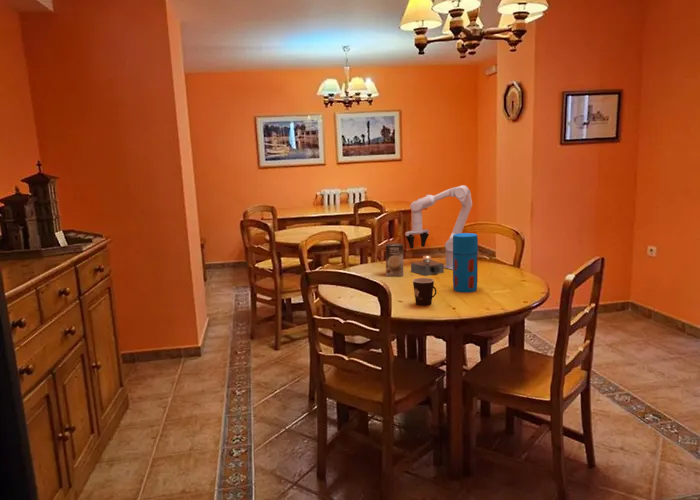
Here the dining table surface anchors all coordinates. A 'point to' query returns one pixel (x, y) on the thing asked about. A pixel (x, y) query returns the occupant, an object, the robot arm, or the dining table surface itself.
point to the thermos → (465, 262)
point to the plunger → (426, 259)
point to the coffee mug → (423, 291)
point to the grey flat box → (427, 267)
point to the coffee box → (394, 259)
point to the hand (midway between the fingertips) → (417, 247)
